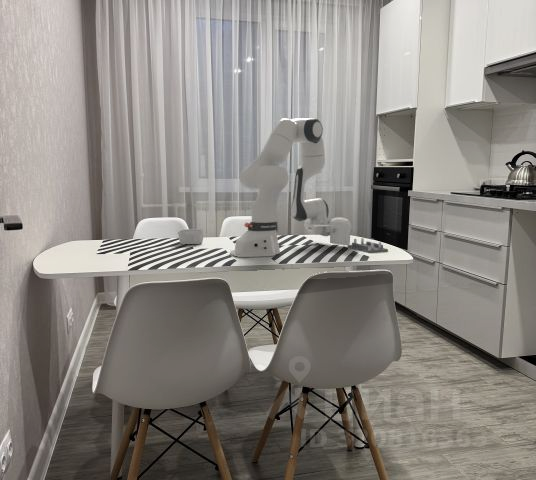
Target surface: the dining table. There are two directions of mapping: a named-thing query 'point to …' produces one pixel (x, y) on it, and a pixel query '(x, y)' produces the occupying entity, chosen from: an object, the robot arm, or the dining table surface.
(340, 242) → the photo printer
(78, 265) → the dining table surface
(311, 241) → the dining table surface
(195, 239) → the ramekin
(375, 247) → the dock
